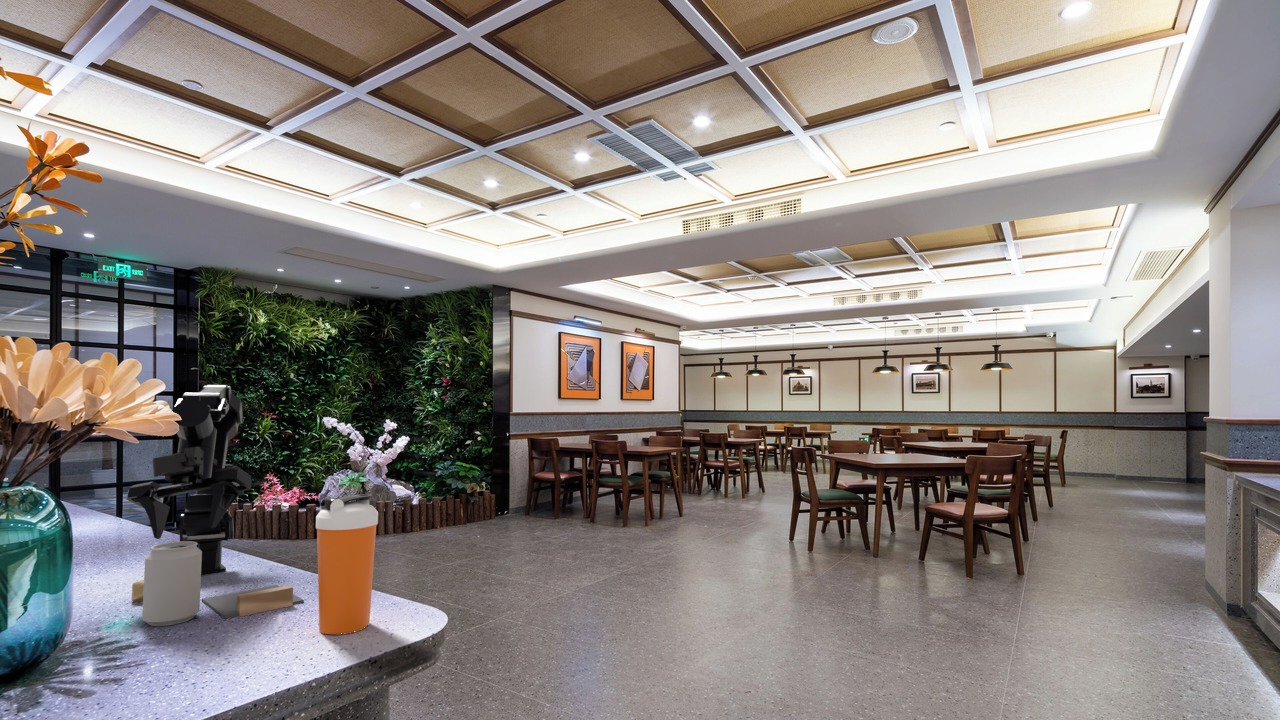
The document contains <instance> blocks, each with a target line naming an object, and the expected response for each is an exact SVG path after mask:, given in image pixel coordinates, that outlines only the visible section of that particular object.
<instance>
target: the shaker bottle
mask: <svg viewBox="0 0 1280 720" xmlns="http://www.w3.org/2000/svg"><path fill="white" fill-rule="evenodd" d="M372 497H374V495H373V494H372V493H371V494H369V493H364V494H363V493H360V494H359V493H358V494H351V495H345V496H342V497H341V496H340V497H338V498H336V497H330V496H325V497H323V498H322V499H321V501H320V505H319V507H320V509H319V512H318V513H317V515H316V516H315V529H316V531H317V532H316V533H317V534H316V535H317V537H316V539H317V575H318V576H317V577H318V578H317V582H318V584H317V585H318V628H319V629H318V630H319V632H320V633H321V634H323V635H326V634H341V633H342V634H343V635H345V634H344V633H350V632H354V631H358V630H360V629H363V628H364V627H366V626H367V625H368V624H369V625H370V618H371V606H372V591H373V589H372V588H373V580H374V579H373V578H374V577H373V576H374V562H375V549H376V548H375V547H376V535H377V526H378V524H379V512H378V510H377V509H376V507H374V506H373V505H372V504H370V499H371V498H372ZM355 500H356V501H355ZM369 625H368V626H369ZM366 628H367V627H366ZM363 630H364V629H363ZM358 632H359V631H358ZM324 633H325V634H324ZM354 633H355V632H354ZM350 634H351V633H350Z"/></svg>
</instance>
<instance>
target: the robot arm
mask: <svg viewBox="0 0 1280 720" xmlns="http://www.w3.org/2000/svg"><path fill="white" fill-rule="evenodd" d="M172 411H173V412H175V413H177V414H179V415H180V416H181V417H182V420H181V421H180V422H179V431H178V432H176V435H177V436H178V438H179V441H178V447H177V452H175V453H172V454H170V455H164V456H163V455H162V456H158V457H154V458H152V471H153V477H154V478H157V477H164V480H165V481H166V482H172V484H171V485H165V486H162V485H160V484H159V483H157V482H155V481H149V482H143V483H137V484H134V485H131V486H130V487H129V488H128V490H127V495H126V500H127V501H128V502H130V503H133V504H135V505H137V506H139V507H140V508H141V509H142V508H143V509H144V511H145V512H146V514H147V518H148V520H149V524H150V527H151V531H152V534H153V538H155V539H156V540H161V537H162V535H163V533H164V530H165V527H166V524H167V523H166V522H167V518H168V516H169V512H170V508H171V507H170V506H169V505H167V504H168V503H170V502H171V501H170V500H171V497H174V496H178V495H179V496H180V495H184V494H189V493H194V494H190V495H189V496H188V498H186V504H185V506H184V507H185V508H184V511H183V512H184V513H181V514H180V518H179V542H180V541H194V542H197V543H198V544H197V546H196V547H197V548H199V549H200V550H201V551H202V562H201V575H203V574H211V573H217V572H223V571H224V572H225V571H227V567H226V566H224V564H222V555H223V541H229V540H233V539H234V534H235V530H234V517H233V516H232V515H231V511H230V510H229V508H230V507H231V506H232V505H233V503H234V502H235V501H236V500H237V498H238V497H239V496H242V495H244V492H245V491H250V490H251V488H252V483H253V480H252V477H251V475H250V474H249V473H247V472H245V471H244V470H243V469H242V468H240V467H239V466H237V465H233V466H227V467H226V460H227V453H228V447H229V442H230V441H231V440H232V439H233V438H234V437H235V436H236V435H237V434H238V432H239V431H238V430H239V424H242V422H243V403H242V400H241V398H239V397H238V396H236V395H235V393H234V394H233V393H232V386H230V385H229V386H228V385H227V384H206V385H204V386H203V387H202V390H201V391H199V392H184V393H183V394H182V396H181V397H180V398H178V399H177V401H176V403H175V405H174V407H173V408H172V409H171V412H172Z"/></svg>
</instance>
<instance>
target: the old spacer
mask: <svg viewBox="0 0 1280 720" xmlns="http://www.w3.org/2000/svg"><path fill="white" fill-rule="evenodd" d="M131 585H132V586H131V602H132V601H133V602H132V603H134V602H143V593H144V579H142V580H138V581H136V582H133V583H131Z"/></svg>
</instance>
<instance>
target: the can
mask: <svg viewBox="0 0 1280 720" xmlns="http://www.w3.org/2000/svg"><path fill="white" fill-rule="evenodd" d="M197 544H198V543H197V542H194V541H180V540H179V541H171V542H163V543H159V544H155V545H153V546H150V552H149V553H148V554H147V555H146V556H145V557H144V574H143V575H144V577H143V580H144V593H143V603H142V616H141V617H142V621H143V622H145V623H147V624H148V625H149V626H153V627H154V626H155V627H164V626H173V625H178V624H182V623H185V622H188V621H189V620H192V619H193V618H194V616H196V615H197V614H198V613H199V612H200V607H201V606H200V604H201V584H202V583H201V582H202V581H201V579H202V574H201V562H202V551H201V550H200V549H199V548H197V547H196V546H197Z"/></svg>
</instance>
